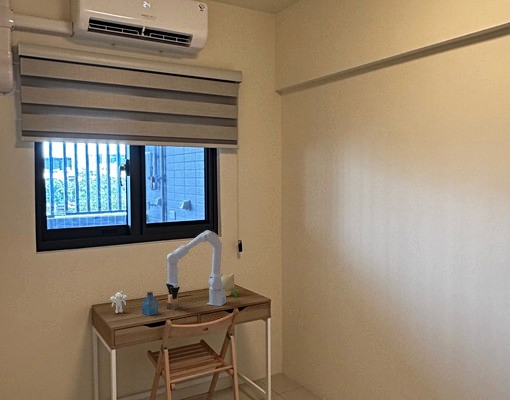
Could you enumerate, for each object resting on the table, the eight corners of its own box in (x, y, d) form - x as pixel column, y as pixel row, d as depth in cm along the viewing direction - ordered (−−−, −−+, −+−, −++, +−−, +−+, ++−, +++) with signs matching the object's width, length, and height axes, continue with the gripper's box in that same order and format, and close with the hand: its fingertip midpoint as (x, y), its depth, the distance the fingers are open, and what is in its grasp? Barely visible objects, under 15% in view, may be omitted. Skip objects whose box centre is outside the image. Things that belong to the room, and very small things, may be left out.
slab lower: (178, 308, 274) (178, 304, 274) (174, 310, 269) (174, 307, 269) (171, 307, 276) (171, 304, 276) (166, 309, 271) (166, 306, 271)
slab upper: (178, 304, 274) (178, 301, 274) (174, 306, 270) (174, 303, 269) (170, 304, 276) (170, 300, 276) (166, 306, 271) (166, 302, 271)
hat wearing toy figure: (126, 310, 269) (125, 289, 269) (127, 311, 266) (127, 290, 265) (110, 312, 265) (109, 291, 265) (111, 314, 262) (111, 292, 261)
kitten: (239, 294, 304) (239, 271, 303) (237, 298, 294) (236, 274, 293) (217, 293, 306) (217, 270, 305) (213, 297, 296) (213, 273, 295)
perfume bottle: (151, 311, 267) (150, 290, 267) (158, 313, 263) (157, 291, 263) (142, 313, 262) (141, 292, 262) (149, 315, 259) (148, 294, 258)
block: (175, 300, 276) (175, 293, 275) (177, 302, 272) (177, 295, 271) (168, 301, 274) (168, 294, 273) (170, 303, 270) (170, 296, 269)
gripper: (162, 272, 276) (163, 295, 277) (168, 277, 263) (169, 301, 264) (174, 271, 279) (174, 293, 280) (181, 276, 266) (181, 299, 267)
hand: (173, 297), depth 272 cm, fingers open, 7 cm apart
